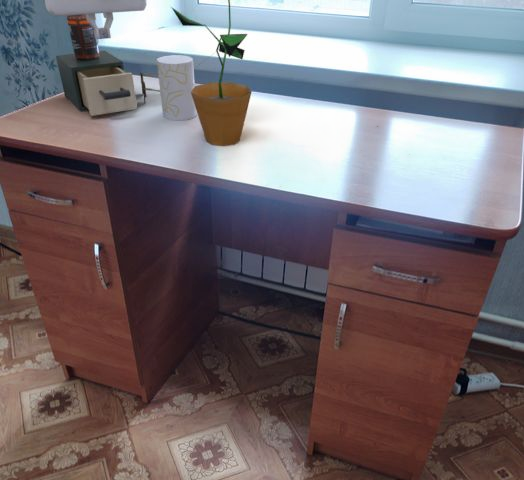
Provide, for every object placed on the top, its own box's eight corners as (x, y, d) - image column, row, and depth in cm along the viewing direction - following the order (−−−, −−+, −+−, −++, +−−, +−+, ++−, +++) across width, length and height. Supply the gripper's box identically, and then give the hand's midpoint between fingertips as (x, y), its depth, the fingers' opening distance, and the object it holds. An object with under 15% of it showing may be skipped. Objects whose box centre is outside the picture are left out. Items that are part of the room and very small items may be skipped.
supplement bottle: (104, 56, 126) (95, 1, 118) (90, 61, 122) (79, 5, 114) (84, 54, 127) (74, 0, 120) (70, 59, 123) (58, 3, 116)
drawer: (144, 114, 120) (139, 78, 115) (97, 122, 115) (90, 84, 110) (119, 95, 131) (114, 61, 126) (76, 101, 126) (68, 67, 121)
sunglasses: (141, 91, 137) (140, 70, 134) (195, 93, 140) (196, 73, 137) (145, 107, 127) (144, 85, 123) (203, 109, 130) (204, 88, 127)
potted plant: (214, 120, 120) (207, -38, 100) (280, 137, 112) (285, -31, 92) (162, 142, 109) (141, -31, 89) (230, 162, 101) (224, -22, 81)
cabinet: (129, 103, 129) (122, 61, 122) (80, 111, 124) (70, 67, 117) (111, 90, 137) (104, 50, 131) (65, 97, 132) (55, 55, 126)
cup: (156, 117, 121) (150, 61, 113) (173, 107, 127) (168, 53, 119) (186, 122, 119) (182, 65, 111) (202, 112, 124) (198, 57, 116)
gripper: (38, -42, 92) (57, 45, 101) (144, -44, 100) (153, 37, 109) (30, -45, 96) (49, 39, 105) (133, -47, 104) (142, 32, 113)
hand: (103, 38), depth 107 cm, fingers closed
